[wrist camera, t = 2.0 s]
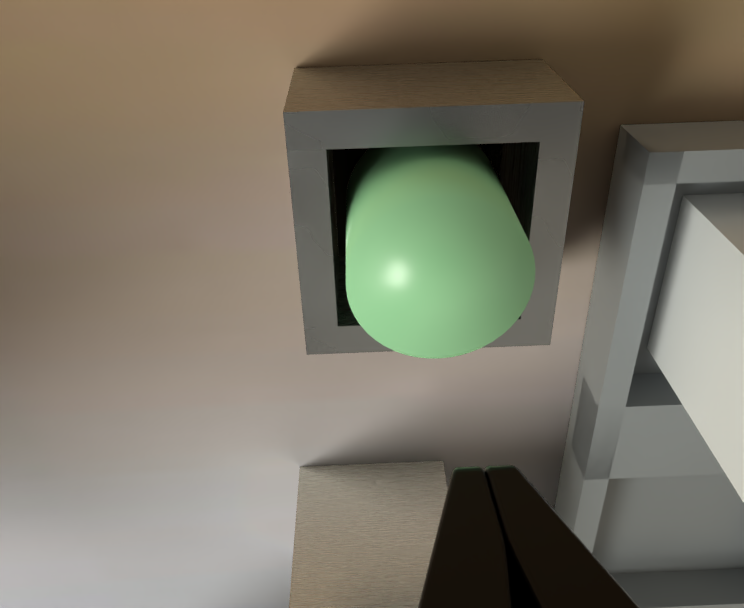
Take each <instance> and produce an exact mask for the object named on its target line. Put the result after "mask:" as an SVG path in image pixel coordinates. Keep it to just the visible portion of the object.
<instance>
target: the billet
mask: <svg viewBox="0 0 744 608" xmlns="http://www.w3.org/2000/svg"><path fill="white" fill-rule="evenodd" d="M447 490H448V488H447V482H446V476H445V470H444V463H443V461H425V462H402V463H378V464H355V465H332V466H308V467H300V471H299V484H298V497H297V511H296V524H295V537H294V550H293V564H292V577H291V590H290V604H289V608H418V605H419V601H420V597H421V593H422V589H423V585H424V581H425V577H426V573H427V569H428V565H429V561H430V557H431V553H432V549H433V545H434V541H435V537H436V533H437V529H438V526H439V522H440V518H441V514H442V510H443V506H444V502H445V498H446V494H447Z"/></svg>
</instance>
